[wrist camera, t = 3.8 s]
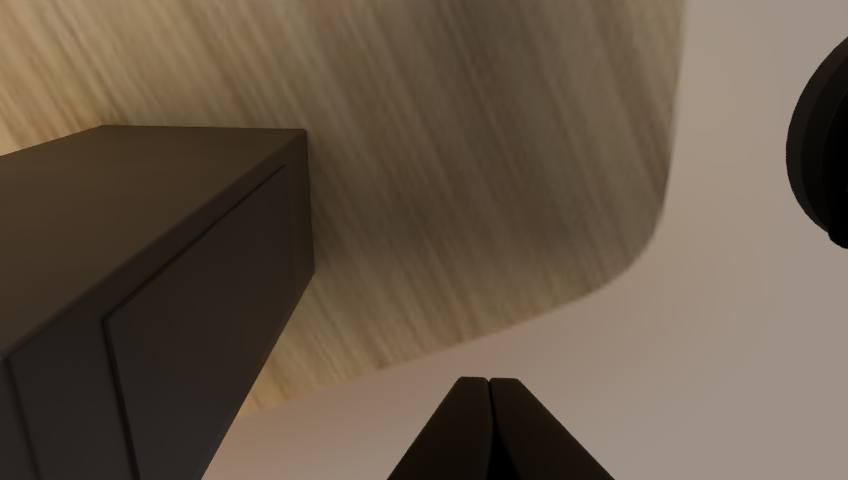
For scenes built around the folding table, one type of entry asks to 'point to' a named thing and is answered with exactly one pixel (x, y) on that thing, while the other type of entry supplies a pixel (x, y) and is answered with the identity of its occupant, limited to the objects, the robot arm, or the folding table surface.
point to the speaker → (143, 293)
